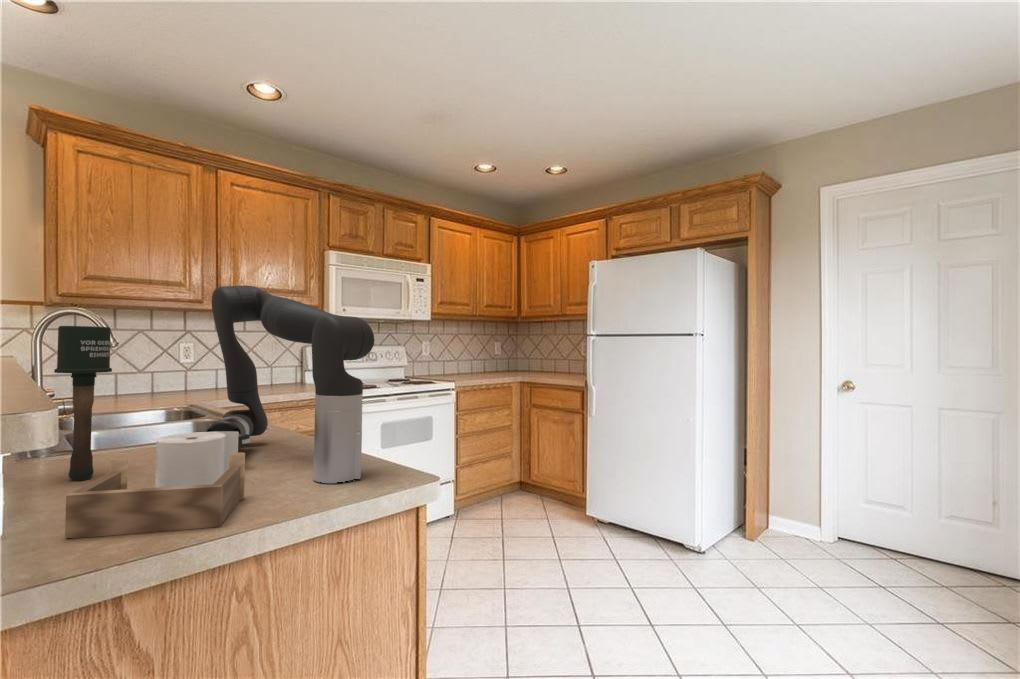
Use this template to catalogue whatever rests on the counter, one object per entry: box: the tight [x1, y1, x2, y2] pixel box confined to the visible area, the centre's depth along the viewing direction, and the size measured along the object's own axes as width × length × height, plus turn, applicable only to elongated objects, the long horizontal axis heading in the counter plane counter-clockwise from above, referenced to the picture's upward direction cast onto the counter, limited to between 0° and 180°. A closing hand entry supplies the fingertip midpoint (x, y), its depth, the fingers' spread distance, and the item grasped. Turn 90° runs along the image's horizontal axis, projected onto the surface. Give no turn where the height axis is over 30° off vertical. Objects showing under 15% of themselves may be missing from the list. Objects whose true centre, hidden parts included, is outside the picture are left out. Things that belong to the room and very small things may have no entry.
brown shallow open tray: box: [64, 451, 246, 540], centre depth 77 cm, size 20×14×8 cm
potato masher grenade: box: [54, 325, 113, 482], centre depth 96 cm, size 8×9×30 cm
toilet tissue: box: [154, 431, 239, 488], centre depth 90 cm, size 11×12×10 cm
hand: (205, 450), depth 96 cm, fingers closed
